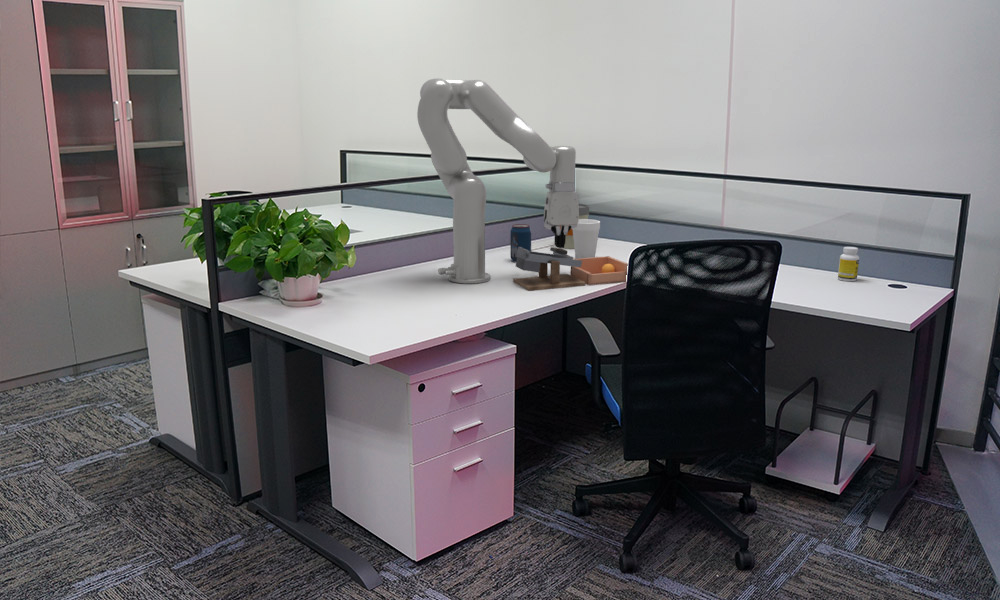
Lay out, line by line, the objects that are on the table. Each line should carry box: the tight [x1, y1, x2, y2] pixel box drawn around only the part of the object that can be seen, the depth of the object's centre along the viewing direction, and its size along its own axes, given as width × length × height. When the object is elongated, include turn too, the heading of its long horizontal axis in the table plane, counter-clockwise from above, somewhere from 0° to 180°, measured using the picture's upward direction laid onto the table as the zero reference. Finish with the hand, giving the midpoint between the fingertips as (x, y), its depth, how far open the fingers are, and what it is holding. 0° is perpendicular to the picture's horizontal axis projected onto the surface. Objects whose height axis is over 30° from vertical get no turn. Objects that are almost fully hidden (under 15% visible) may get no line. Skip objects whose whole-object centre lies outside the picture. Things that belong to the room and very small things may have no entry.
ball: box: [602, 264, 615, 273], centre depth 251 cm, size 4×4×4 cm
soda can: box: [509, 223, 532, 263], centre depth 276 cm, size 7×7×12 cm
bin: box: [570, 255, 629, 286], centre depth 250 cm, size 13×12×6 cm
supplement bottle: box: [837, 246, 860, 282], centre depth 248 cm, size 5×5×10 cm
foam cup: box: [572, 218, 601, 259], centre depth 278 cm, size 10×9×13 cm
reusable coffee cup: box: [560, 203, 590, 250], centre depth 300 cm, size 12×13×15 cm
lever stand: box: [512, 261, 586, 292], centre depth 244 cm, size 18×12×8 cm, turn 111°
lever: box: [515, 246, 582, 273], centre depth 247 cm, size 18×15×6 cm
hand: (559, 247), depth 255 cm, fingers closed
